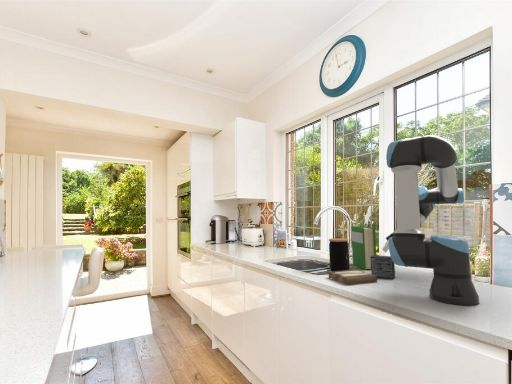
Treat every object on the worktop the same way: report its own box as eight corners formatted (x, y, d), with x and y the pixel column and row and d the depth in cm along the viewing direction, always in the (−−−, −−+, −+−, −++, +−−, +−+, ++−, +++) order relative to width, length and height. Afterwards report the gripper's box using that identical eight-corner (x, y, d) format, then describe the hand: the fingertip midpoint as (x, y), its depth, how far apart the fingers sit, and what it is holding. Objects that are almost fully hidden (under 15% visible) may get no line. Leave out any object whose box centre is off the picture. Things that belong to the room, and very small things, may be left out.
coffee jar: (351, 273, 150) (349, 240, 151) (330, 273, 152) (329, 240, 154) (348, 269, 160) (347, 238, 162) (329, 269, 163) (328, 238, 164)
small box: (395, 277, 141) (394, 256, 142) (394, 279, 135) (393, 257, 136) (373, 274, 146) (372, 254, 147) (371, 277, 141) (370, 256, 142)
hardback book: (377, 270, 158) (375, 227, 160) (364, 270, 158) (362, 227, 160) (364, 264, 175) (362, 226, 177) (353, 264, 175) (351, 226, 177)
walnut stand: (376, 282, 131) (376, 275, 131) (347, 285, 126) (347, 278, 127) (355, 275, 146) (355, 268, 147) (328, 277, 142) (328, 271, 142)
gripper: (439, 228, 139) (418, 261, 133) (400, 226, 163) (380, 254, 157) (430, 217, 138) (408, 250, 132) (392, 217, 161) (372, 245, 156)
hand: (393, 252), depth 145 cm, fingers open, 13 cm apart
